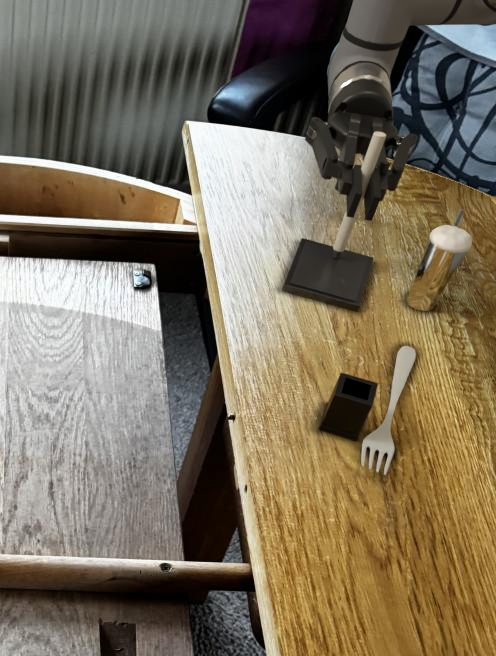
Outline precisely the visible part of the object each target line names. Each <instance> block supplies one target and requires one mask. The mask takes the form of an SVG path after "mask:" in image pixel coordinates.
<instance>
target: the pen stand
mask: <svg viewBox="0 0 496 656" xmlns="http://www.w3.org/2000/svg"><path fill="white" fill-rule="evenodd" d="M378 385H379V383H378V382H376V381H372V380H369V379H365V378H362V377H358V376H356V375H355V376H354V375H352V374H348V373H345V372H340V374H339V376H338V378H337V381H336V383H335V385H334V387H333V389H332V392H331V394H330V397H329V399H328V401H326V403H325V405H324V408H323V412H322V415H321V419H320V421H319V425H318V430H320V431H323V432H325V433H328V434H332V435H335V436H338V437H342V438H345V439H348V440H352V441H355V442H357V441H358V440H359V437H360V433H361V431H362V429H363V426H364V425H365V422H366V421H367V418H368V417H369V414H370V413H371V411H372V408H373V406H374V402H375V398H376V397H375V396H376V394H377V390H378Z"/></svg>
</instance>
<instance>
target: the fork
mask: <svg viewBox="0 0 496 656" xmlns="http://www.w3.org/2000/svg"><path fill="white" fill-rule="evenodd" d="M416 353H417V352H416V350H415V348H413V346H409V345H403V346H402V347H400V348H399V350H398V351H397V353H396V359H395V365H394V371H393V377H392V382H391V389H390V399H389V404H388V408H387V412H386V415H385V417H384V419H383V421H382V423H381V424H380V426H378V427H377V428H376V429H375V430H373V431H372V432H370V433H369V434H367V435H366V436H365V437H364V438H363V441H362V444H361V456H360V457H361V459H360V461H361V467H362V468H363V467H364V466H365V463H366V455H367V449H369V458H368V470H371V469H372V468H373V463H374V459H375V453H376V451H377V452H378V456H377V462H376V470H375V471H376V473H379V472H380V469H381V467H382V463H383V458H384V456H385V454H386V455H387V458H386V462H385V464H384V468H383V475H384V476H387V473H388V471H389V468H390V465H391V464H392V463H391V462H392V459H393V457H394V454H395V450H396V449H395V443H394V440H393V436H392V432H391V431H392V430H391V427H392V421H393V417H394V414H395V410H396V407H397V404H398V401H399V398H400V396H401V394H402V391H403V390H404V387H405V385H406V383H407V380H408V378H409V375H410V373H411V371H412V368H413V366H414V364H415V361H416V357H417V355H416Z"/></svg>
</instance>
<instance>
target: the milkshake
mask: <svg viewBox="0 0 496 656" xmlns="http://www.w3.org/2000/svg"><path fill="white" fill-rule="evenodd" d="M465 211H466V209H465V210H464V209H462V208H461V209H460V210H459V212H458V214H457V217H456V218H455V221H454V223H453V225H449V224H443V225H439V226H437V227H435V228H434V229H432V230H431V232H430V233H429V236H428V239H427V241H426V245H425V248H424V250H423V253H422V257H421V261H420V264H419V266H418V269H417V271H416V274H415V276H414V279H413V281H412V284H411V286H410V290H409V292H408V295H407V298H406V302H407V304H408V305H409V307H411V308H413V309H415V310H417V311H423V312H424V311H425V312H427V311H430V310H433V309H434V307H435V306H436V304H437V302H438V301H439V299H440V297H441V296H442V294H443V293H444V292H445V289H446V288H447V286H448V284H449V282H450V281H451V279H452V277H453V276H454V274H455V272H456V271H457V270H458V268H459V266H460V265H461V263H462V262H463V260H464V258H465V256H466V255H467V253H468V252H469V251H470V248H471V247H472V244H473V238H472V235H470V234H469V233H468V232H467V231H466V230H465V229H464V228H460V227H459V224H460V222H461V220H462V218H463V216H464V213H465Z"/></svg>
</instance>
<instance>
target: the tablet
mask: <svg viewBox="0 0 496 656" xmlns="http://www.w3.org/2000/svg"><path fill="white" fill-rule="evenodd" d="M333 246H334V245H329V244H325V243H322V242H317V241H315V240H312V239H307V238H303V237H301V239H300V242H299V244H298V246H297V249H296V251H295V254H294V257H293V260H292V262H291V264H290V267H289V270H288V272H287V275H286V277H285V281H284V283H283V286H282V289H281V291H282V292H286V293H290V294H294V295H297V296H300V297H304V298H307V299H311V300H314V301H319V302H322V303H325V304H329V305H331V306H336V307H339V308H343V309H346V310H350V311H353V312H359V309H360V307H361V303H362V300H363V296H364V292H365V291H366V290H365V289H366V286H367V283H368V279H369V276H370V272H371V269H372V266H373V262H374V258H375V257H373V256H370V255H366V254H363V253H358V252H355V251H352V250H347V249H345V251H343V252H341V253H340V256H339V258H338V259H335V258H333V255H334V252H335V250H334V249H333Z"/></svg>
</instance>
